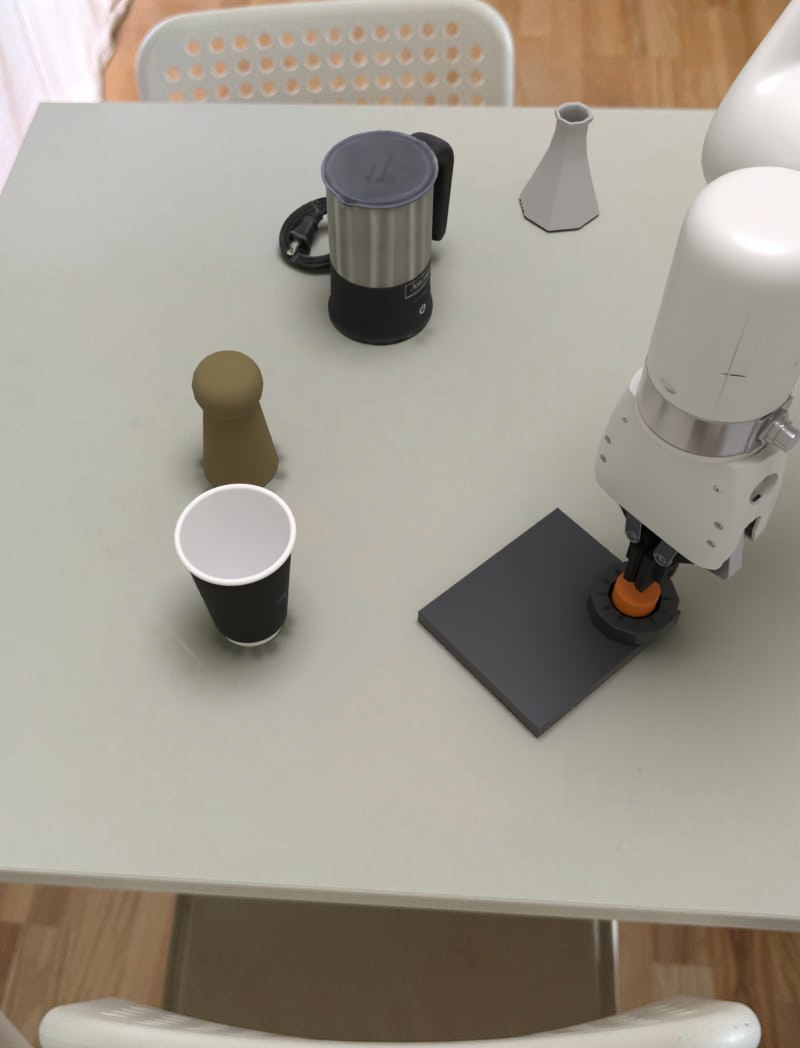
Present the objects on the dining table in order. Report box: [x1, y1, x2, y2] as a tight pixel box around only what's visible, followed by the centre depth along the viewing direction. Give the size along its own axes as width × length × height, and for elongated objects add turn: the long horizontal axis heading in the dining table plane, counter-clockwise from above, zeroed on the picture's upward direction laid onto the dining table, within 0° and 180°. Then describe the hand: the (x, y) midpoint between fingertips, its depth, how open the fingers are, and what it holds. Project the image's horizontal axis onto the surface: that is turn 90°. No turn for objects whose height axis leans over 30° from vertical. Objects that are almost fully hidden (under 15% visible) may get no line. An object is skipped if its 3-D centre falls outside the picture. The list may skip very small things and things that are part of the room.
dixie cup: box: [173, 484, 297, 647], centre depth 75 cm, size 8×8×11 cm
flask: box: [519, 101, 600, 232], centre depth 99 cm, size 7×7×10 cm
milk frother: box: [278, 129, 455, 345], centre depth 93 cm, size 14×16×15 cm
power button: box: [612, 573, 660, 617], centre depth 76 cm, size 3×3×2 cm
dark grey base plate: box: [417, 507, 682, 739], centre depth 78 cm, size 14×12×3 cm
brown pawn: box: [191, 349, 279, 488], centre depth 83 cm, size 6×6×11 cm
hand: (647, 573), depth 74 cm, fingers closed
